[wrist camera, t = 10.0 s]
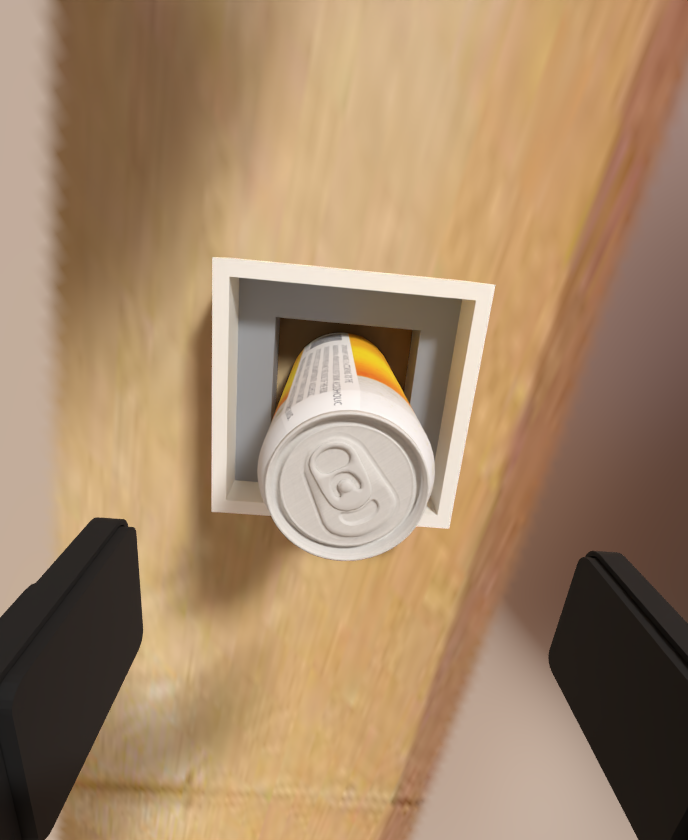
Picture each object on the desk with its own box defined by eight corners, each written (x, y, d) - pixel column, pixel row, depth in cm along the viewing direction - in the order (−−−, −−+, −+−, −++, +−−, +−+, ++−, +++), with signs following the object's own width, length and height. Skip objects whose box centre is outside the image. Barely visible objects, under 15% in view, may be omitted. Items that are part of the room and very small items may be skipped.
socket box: (233, 257, 27) (212, 257, 22) (467, 280, 27) (495, 285, 23) (230, 473, 31) (211, 511, 26) (431, 488, 32) (448, 528, 27)
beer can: (318, 440, 30) (304, 596, 16) (274, 356, 29) (216, 449, 14) (403, 401, 30) (469, 530, 15) (364, 313, 28) (398, 366, 14)
